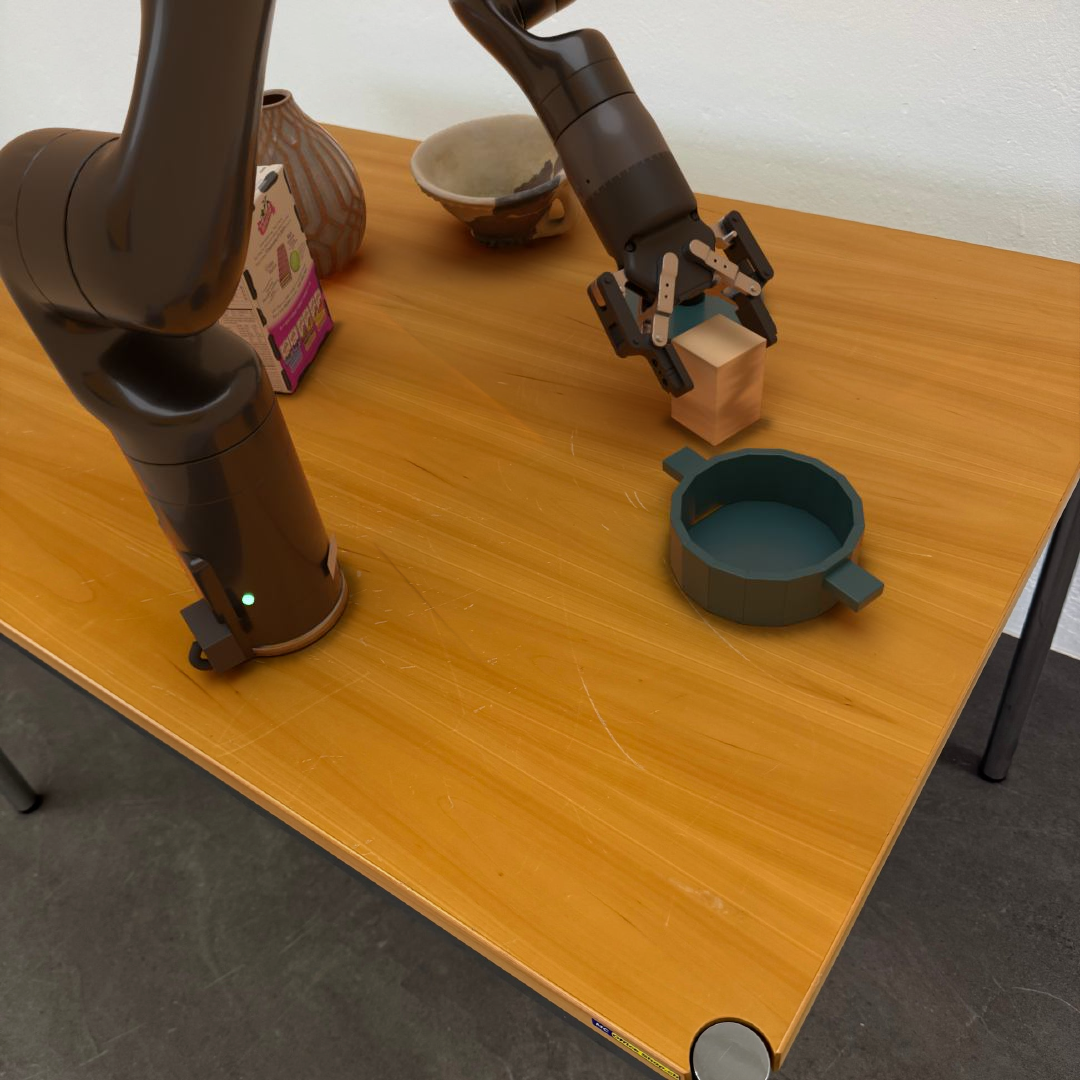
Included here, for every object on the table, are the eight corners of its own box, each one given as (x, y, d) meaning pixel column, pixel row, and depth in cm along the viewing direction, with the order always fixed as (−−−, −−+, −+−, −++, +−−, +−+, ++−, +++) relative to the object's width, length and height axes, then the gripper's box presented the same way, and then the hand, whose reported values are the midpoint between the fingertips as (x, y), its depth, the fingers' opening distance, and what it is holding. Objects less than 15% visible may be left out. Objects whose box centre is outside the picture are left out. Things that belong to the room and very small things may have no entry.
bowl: (393, 260, 100) (372, 173, 94) (487, 186, 110) (474, 102, 104) (533, 294, 93) (521, 202, 86) (620, 211, 103) (616, 122, 96)
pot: (793, 688, 58) (801, 639, 55) (610, 534, 69) (607, 484, 66) (926, 588, 63) (941, 536, 59) (734, 457, 73) (737, 407, 70)
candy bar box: (288, 324, 94) (233, 162, 82) (335, 326, 93) (286, 161, 81) (242, 394, 86) (174, 226, 74) (292, 396, 85) (232, 226, 73)
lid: (683, 368, 82) (684, 302, 77) (587, 308, 90) (582, 244, 86) (793, 307, 87) (800, 241, 82) (692, 255, 95) (693, 192, 90)
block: (714, 451, 74) (717, 367, 68) (671, 422, 77) (670, 339, 71) (759, 423, 76) (766, 339, 70) (716, 396, 79) (719, 313, 73)
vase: (344, 303, 95) (295, 129, 83) (234, 292, 99) (170, 124, 87) (398, 239, 104) (360, 71, 91) (294, 231, 107) (244, 69, 95)
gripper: (568, 186, 64) (681, 397, 66) (721, 120, 69) (824, 316, 71) (530, 232, 71) (633, 422, 72) (672, 169, 76) (766, 347, 78)
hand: (727, 370), depth 72 cm, fingers open, 8 cm apart
